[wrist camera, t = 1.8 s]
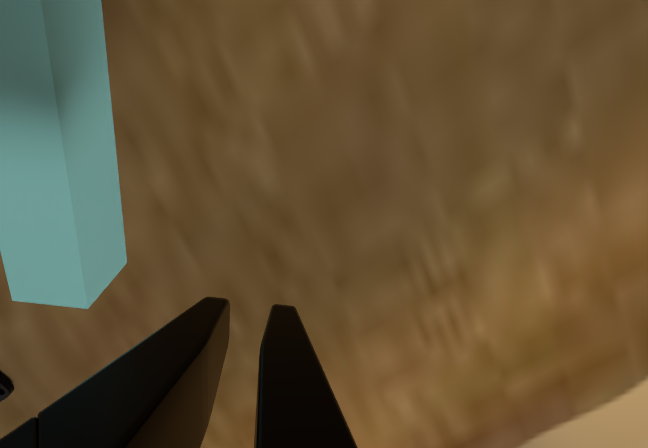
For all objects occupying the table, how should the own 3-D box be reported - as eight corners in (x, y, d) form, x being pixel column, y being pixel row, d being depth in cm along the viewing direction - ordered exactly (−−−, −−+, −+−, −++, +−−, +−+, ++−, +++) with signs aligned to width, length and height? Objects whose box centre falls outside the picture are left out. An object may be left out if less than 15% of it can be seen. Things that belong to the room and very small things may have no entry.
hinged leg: (-15, -215, 11) (-135, -292, 8) (83, -203, 11) (-4, -275, 9) (64, 254, 17) (10, 302, 15) (128, 261, 18) (86, 310, 15)
